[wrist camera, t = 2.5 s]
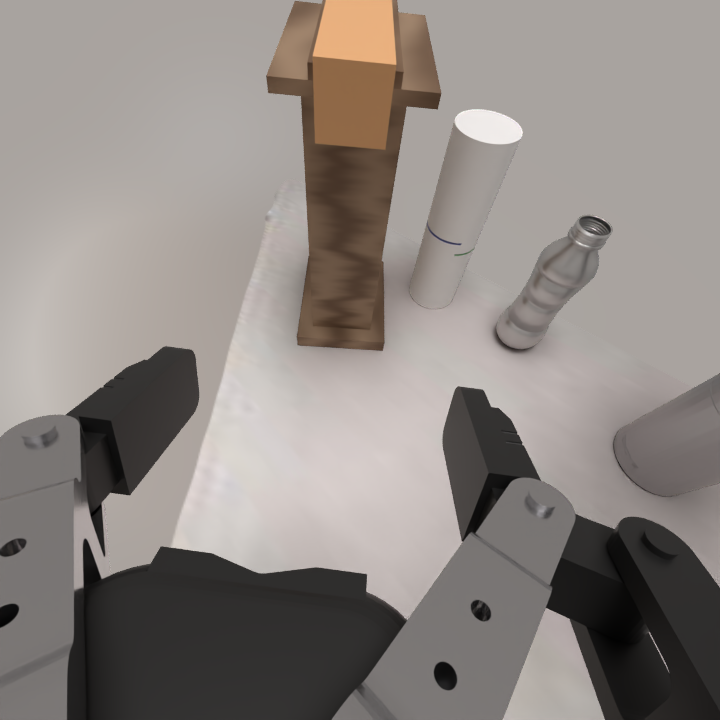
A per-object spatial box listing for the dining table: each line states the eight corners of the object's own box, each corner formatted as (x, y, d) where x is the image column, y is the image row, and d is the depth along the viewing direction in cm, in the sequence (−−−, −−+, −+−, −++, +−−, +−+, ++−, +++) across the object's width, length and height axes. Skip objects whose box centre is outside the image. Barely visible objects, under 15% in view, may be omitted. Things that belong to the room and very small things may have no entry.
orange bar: (382, 26, 32) (389, -42, 28) (385, 149, 21) (396, 64, 18) (336, 21, 31) (337, -48, 28) (314, 143, 21) (312, 56, 17)
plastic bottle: (484, 323, 57) (551, 208, 40) (524, 317, 58) (605, 204, 41) (502, 358, 53) (583, 249, 36) (543, 351, 54) (640, 242, 38)
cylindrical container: (410, 273, 61) (454, 105, 40) (453, 279, 61) (519, 114, 40) (408, 305, 57) (454, 138, 36) (453, 312, 57) (526, 148, 36)
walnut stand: (381, 270, 61) (427, 0, 33) (382, 350, 52) (445, 76, 25) (309, 265, 60) (294, -15, 33) (297, 345, 52) (264, 57, 24)
